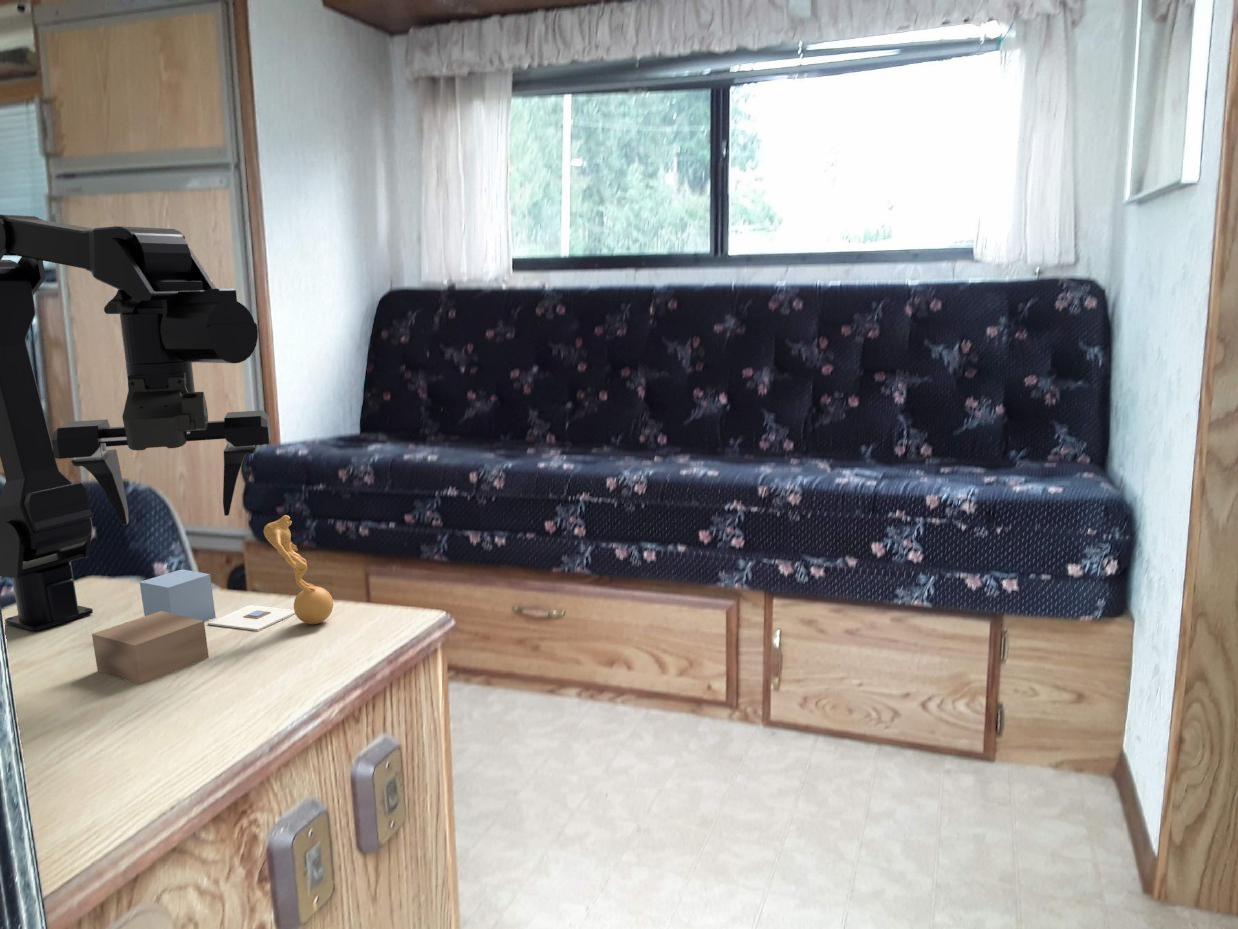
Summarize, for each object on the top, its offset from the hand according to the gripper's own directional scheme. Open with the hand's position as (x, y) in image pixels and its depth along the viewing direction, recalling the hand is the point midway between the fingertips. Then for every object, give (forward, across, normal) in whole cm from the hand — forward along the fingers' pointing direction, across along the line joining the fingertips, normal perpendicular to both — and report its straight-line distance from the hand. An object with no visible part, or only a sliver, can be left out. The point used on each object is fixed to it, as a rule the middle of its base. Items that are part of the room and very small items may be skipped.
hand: (177, 519), depth 93 cm
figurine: (+13, +11, 0) cm, 17 cm away
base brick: (+13, -3, -5) cm, 14 cm away
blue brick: (+13, -2, +8) cm, 15 cm away
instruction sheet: (+13, +6, +5) cm, 15 cm away
